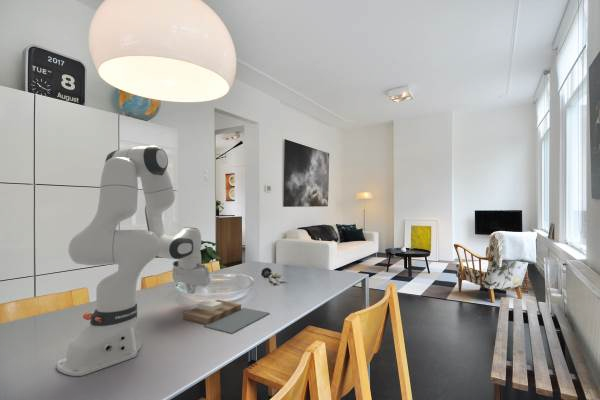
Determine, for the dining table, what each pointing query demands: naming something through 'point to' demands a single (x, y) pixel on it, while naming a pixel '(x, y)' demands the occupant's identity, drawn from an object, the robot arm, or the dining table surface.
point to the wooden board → (211, 313)
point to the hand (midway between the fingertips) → (191, 293)
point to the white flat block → (209, 305)
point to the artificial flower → (274, 275)
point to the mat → (236, 320)
